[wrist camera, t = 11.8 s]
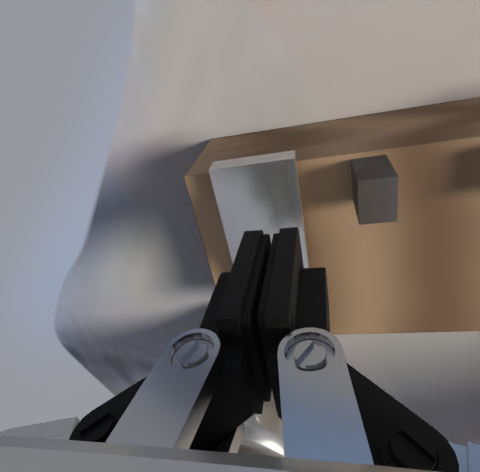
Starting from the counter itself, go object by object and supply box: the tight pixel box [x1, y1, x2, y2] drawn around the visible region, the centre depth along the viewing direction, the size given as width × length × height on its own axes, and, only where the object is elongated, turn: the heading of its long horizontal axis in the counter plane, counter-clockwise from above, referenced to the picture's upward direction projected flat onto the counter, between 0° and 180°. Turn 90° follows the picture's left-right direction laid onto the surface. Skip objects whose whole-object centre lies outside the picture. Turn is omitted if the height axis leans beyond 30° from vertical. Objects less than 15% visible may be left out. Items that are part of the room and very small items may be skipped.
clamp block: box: [184, 97, 480, 335], centre depth 16 cm, size 20×9×7 cm, turn 101°
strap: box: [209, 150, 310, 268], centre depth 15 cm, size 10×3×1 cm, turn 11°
